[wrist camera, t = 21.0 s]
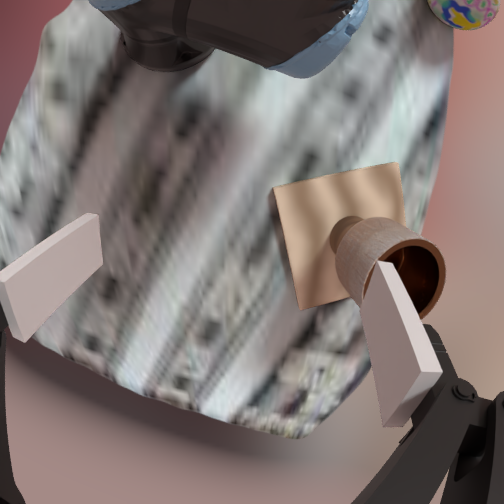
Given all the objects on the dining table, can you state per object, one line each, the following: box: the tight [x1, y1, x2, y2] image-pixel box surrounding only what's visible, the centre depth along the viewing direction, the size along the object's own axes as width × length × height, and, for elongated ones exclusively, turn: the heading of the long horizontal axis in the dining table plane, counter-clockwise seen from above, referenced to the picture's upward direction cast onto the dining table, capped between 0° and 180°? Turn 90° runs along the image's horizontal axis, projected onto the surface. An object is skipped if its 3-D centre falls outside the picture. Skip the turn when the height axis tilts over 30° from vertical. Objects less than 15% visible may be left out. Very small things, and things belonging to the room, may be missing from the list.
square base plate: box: [273, 162, 406, 310], centre depth 43 cm, size 20×20×10 cm
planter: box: [335, 217, 446, 320], centre depth 34 cm, size 11×11×10 cm
